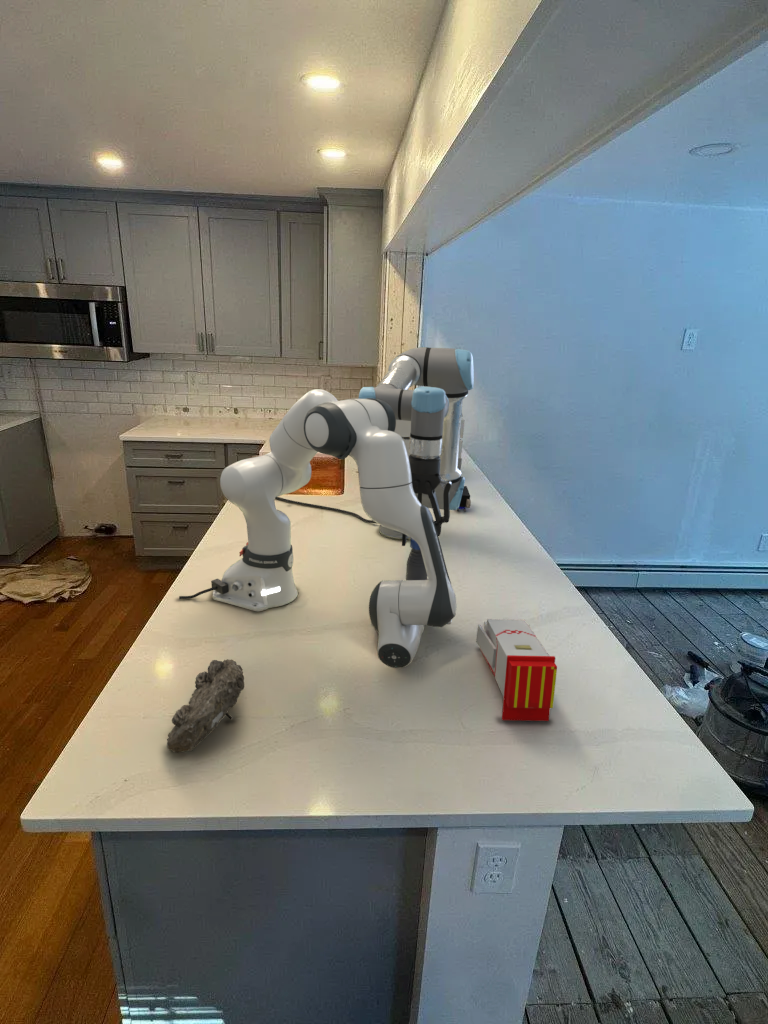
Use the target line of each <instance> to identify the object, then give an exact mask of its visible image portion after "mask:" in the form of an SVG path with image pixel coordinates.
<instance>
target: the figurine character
mask: <svg viewBox="0 0 768 1024" xmlns="http://www.w3.org/2000/svg"><path fill="white" fill-rule="evenodd" d="M471 501H472V500H471V494H470V491H469V488H468V486H467V485H464V488H463V493H462V497H461V501H460V505H459V508H458V509H457V510H456V511H457V512H460V510H463V511H464V513H466V512H467V509H470V508H471V505H472V504H471ZM466 508H467V509H466Z"/></svg>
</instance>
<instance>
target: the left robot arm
mask: <svg viewBox="0 0 768 1024" xmlns="http://www.w3.org/2000/svg"><path fill="white" fill-rule="evenodd" d="M395 427H396V418H395V414H394V412H393V410H392V408H391V407H390V406H389V405H388V404H387V403H386V402H384V401H382V400H379V399H374V398H366V399H358V398H346V399H341V400H338V398H337V397H336V396H335V395H333V393H331V392H329V391H327V390H325V389H321V388H314V389H311V390H309V391H307V392H306V393H305V394H304V395H302V396H301V397H300V398H299V399H298V400H297V401H295V403H293V405H292V406H291V407H290V408H289V409H288V411H287V412H286V414H285V415H284V416H283V417H282V419H281V420H280V421H279V423H278V424H277V425H276V427H275V428H274V430H273V431H272V432H271V433H270V436H269V439H268V440H269V441H268V443H269V449H270V451H269V452H267V453H265V454H262V455H258V456H253V457H249V458H245V459H241V460H238V461H236V462H234V463H232V464H229V465H228V466H226V467H224V468H223V470H222V471H221V474H220V480H219V485H220V490H221V491H222V495H223V496H224V497H225V499H227V501H229V503H231V504H233V505H235V506H236V507H237V508H238V509H239V510H240V512H241V513H242V515H243V516H244V520H245V524H246V533H247V542H246V544H245V545H244V546H243V547H242V548H241V550H240V551H239V553H238V554H239V556H238V557H241V556H242V557H241V558H240V559H239V560H237V561H235V562H234V563H233V564H231V565H230V566H229V567H228V568H227V569H226V570H225V571H224V573H223V574H222V577H221V579H220V578H215V579H212V580H211V581H210V582H211V583H210V584H211V587H209V588H207V589H203V590H201V591H198V592H196V593H194V594H192V595H179V596H178V599H179V600H190V599H195V598H196V597H199V596H201V595H203V594H206V593H209V592H212V599H213V600H214V601H217V602H221V603H225V604H228V605H232V606H236V607H240V608H243V609H246V610H251V611H254V612H263V611H266V610H268V609H271V608H278V607H281V606H285V605H287V604H290V603H291V602H293V601H294V600H296V598H297V597H298V594H299V593H298V589H297V587H296V583H295V579H294V573H293V565H294V552H293V545H292V531H291V530H292V527H291V525H292V524H291V519H290V518H289V516H288V515H287V514H286V513H285V512H283V511H282V510H280V509H277V507H276V502H275V500H276V499H275V497H281V496H284V495H288V494H291V493H294V492H296V491H298V490H299V489H301V488H304V487H305V486H306V485H308V484H309V482H310V481H311V478H312V465H311V461H312V460H313V458H314V457H315V456H316V455H317V454H318V453H319V454H323V455H326V456H331V457H334V458H336V459H339V460H345V459H347V458H348V457H350V458H352V459H353V461H354V462H355V464H356V466H357V472H358V486H359V495H360V502H361V505H362V509H363V511H364V513H365V514H366V515H367V517H368V518H369V520H373V521H374V522H376V523H377V525H379V526H380V525H381V526H383V527H386V528H389V529H392V530H395V531H398V532H401V533H403V534H405V535H407V536H409V537H411V538H412V539H414V540H415V541H416V542H417V544H418V545H419V547H420V550H421V553H422V557H423V561H424V565H425V568H426V572H427V580H406V579H386V580H385V579H384V580H383V579H382V580H381V581H379V582H378V583H377V584H376V585H375V587H374V588H373V590H372V591H371V594H370V596H369V602H368V616H369V620H370V625H371V627H373V628H374V629H375V631H376V632H377V633H378V637H377V638H378V640H377V647H376V653H377V657H378V659H379V661H380V662H381V663H382V664H383V665H385V666H386V667H389V668H394V669H395V668H396V669H400V668H401V669H402V668H405V667H407V666H409V665H410V664H411V663H412V661H413V660H414V659H415V657H416V654H417V653H418V650H419V647H420V645H421V640H422V635H423V632H424V629H425V626H427V627H434V628H443V627H446V626H447V625H451V624H452V622H453V619H455V617H456V615H457V614H456V613H457V609H458V607H457V605H458V603H457V597H456V593H455V590H454V587H453V585H452V582H451V579H450V576H449V572H448V569H447V568H448V567H447V564H446V561H445V556H444V552H443V548H442V545H441V541H440V536H438V533H437V530H436V526H435V523H434V521H435V519H434V517H433V515H432V513H431V510H430V508H428V507H426V506H424V505H422V504H421V503H420V502H419V501H418V499H417V497H416V495H415V493H414V490H413V486H412V476H411V468H410V463H409V458H408V453H407V449H406V446H405V443H404V440H403V438H402V437H401V436H400V435H399V434H397V433H395V432H394V431H395ZM376 523H375V524H376Z"/></svg>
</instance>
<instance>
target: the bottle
mask: <svg viewBox="0 0 768 1024" xmlns="http://www.w3.org/2000/svg"><path fill="white" fill-rule="evenodd" d="M405 569H406V570H405V571H406V573H405V580H427V579H428V576H427V572H426V568H425V565H424V561H423V557H422V553H421V550H416V549H413V548H411V549H410V552H409V554H408V557H407V560H406V568H405Z"/></svg>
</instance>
